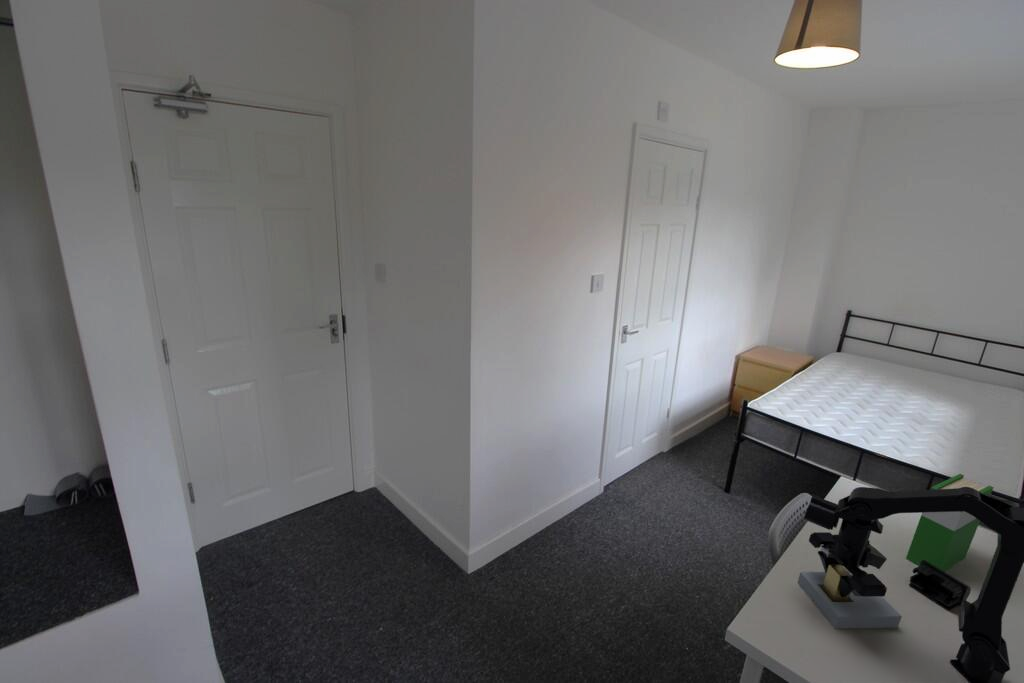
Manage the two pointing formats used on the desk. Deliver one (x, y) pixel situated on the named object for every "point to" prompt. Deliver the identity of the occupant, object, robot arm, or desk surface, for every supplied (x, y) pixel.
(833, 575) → the brass square bit
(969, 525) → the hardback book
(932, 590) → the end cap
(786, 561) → the desk surface
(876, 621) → the slate bore board
